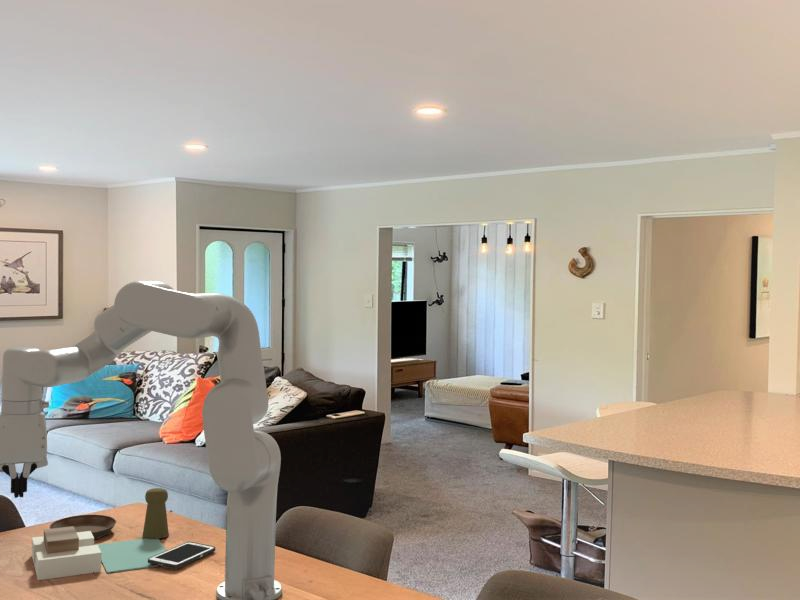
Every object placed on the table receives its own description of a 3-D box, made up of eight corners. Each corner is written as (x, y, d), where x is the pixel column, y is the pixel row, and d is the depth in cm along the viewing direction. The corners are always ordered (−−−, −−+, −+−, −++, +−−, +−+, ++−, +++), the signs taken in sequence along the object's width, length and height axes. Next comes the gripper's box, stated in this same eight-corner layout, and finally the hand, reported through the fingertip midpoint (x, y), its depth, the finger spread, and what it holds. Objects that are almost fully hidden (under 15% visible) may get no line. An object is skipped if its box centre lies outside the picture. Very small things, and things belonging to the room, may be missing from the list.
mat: (175, 563, 173) (175, 562, 173) (107, 573, 166) (107, 571, 166) (157, 538, 190) (157, 537, 190) (93, 546, 183) (94, 544, 183)
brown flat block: (78, 549, 168) (78, 538, 168) (47, 553, 166) (47, 541, 166) (73, 537, 176) (73, 526, 176) (43, 541, 173) (43, 529, 173)
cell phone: (145, 563, 171) (145, 559, 171) (188, 545, 185) (189, 541, 185) (175, 570, 168) (175, 565, 168) (217, 551, 182) (217, 546, 182)
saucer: (93, 547, 183) (93, 535, 183) (35, 541, 186) (35, 529, 186) (127, 528, 198) (128, 517, 198) (73, 523, 201) (73, 512, 201)
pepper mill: (140, 533, 193) (141, 487, 193) (166, 531, 195) (167, 485, 196) (144, 539, 187) (145, 491, 188) (170, 537, 190) (171, 490, 190)
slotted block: (101, 571, 167) (101, 552, 167) (37, 580, 162) (38, 560, 162) (90, 548, 181) (90, 530, 181) (31, 555, 176) (32, 537, 176)
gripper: (58, 403, 173) (55, 488, 174) (-20, 406, 166) (-23, 494, 167) (62, 409, 167) (59, 497, 167) (-19, 412, 160) (-22, 504, 160)
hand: (18, 495), depth 167 cm, fingers closed
